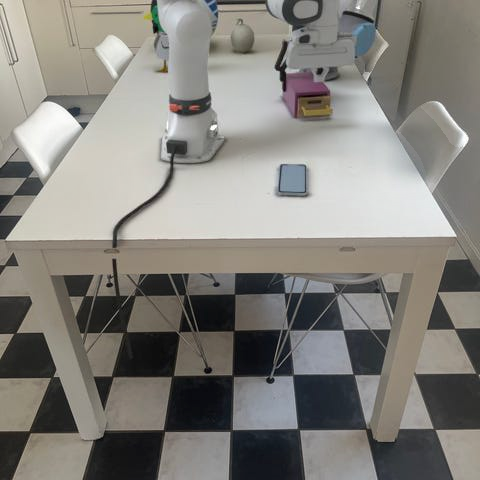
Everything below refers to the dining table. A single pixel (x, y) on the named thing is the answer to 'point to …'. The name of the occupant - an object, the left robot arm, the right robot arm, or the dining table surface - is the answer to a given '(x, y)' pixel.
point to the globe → (207, 3)
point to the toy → (159, 38)
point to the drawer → (314, 106)
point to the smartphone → (292, 179)
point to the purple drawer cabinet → (301, 89)
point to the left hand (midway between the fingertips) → (319, 81)
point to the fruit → (242, 37)
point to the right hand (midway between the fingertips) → (301, 89)
